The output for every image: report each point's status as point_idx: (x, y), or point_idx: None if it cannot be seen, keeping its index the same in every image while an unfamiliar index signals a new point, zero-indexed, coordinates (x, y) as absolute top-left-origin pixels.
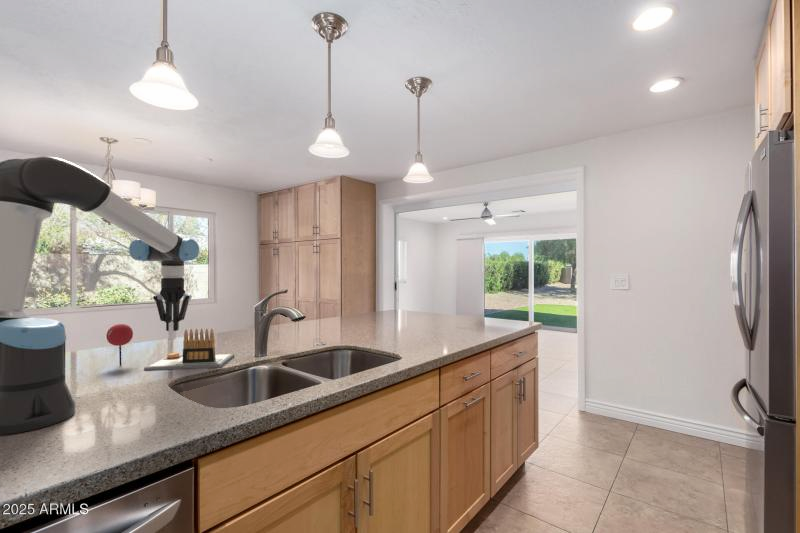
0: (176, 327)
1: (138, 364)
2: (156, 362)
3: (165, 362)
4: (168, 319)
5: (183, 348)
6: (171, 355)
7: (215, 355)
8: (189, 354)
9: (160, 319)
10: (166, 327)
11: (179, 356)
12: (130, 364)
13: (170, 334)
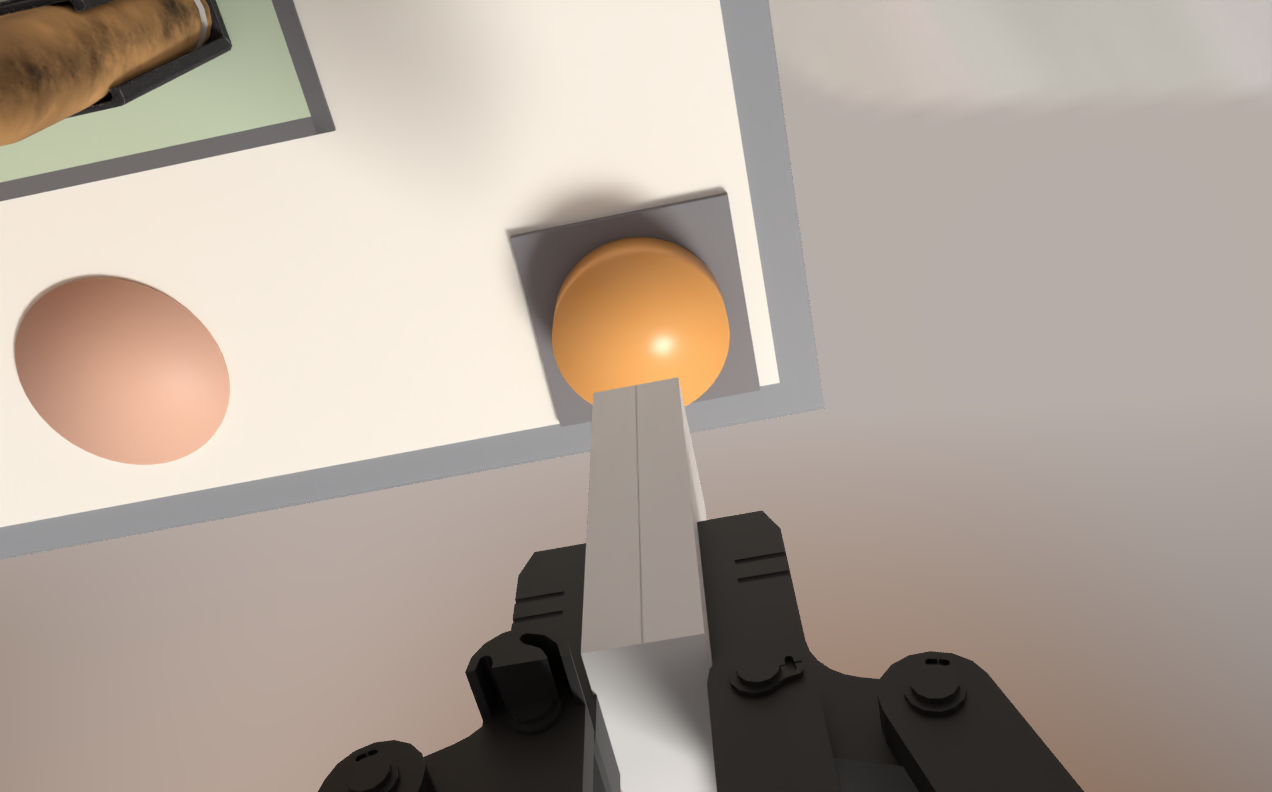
0: (523, 604)
1: (1059, 57)
2: (714, 5)
3: (553, 11)
4: (726, 719)
5: (92, 28)
6: (613, 258)
7: (77, 468)
8: (21, 11)
9: (989, 681)
10: (778, 564)
11: None
12: (1193, 51)
13: (642, 448)
